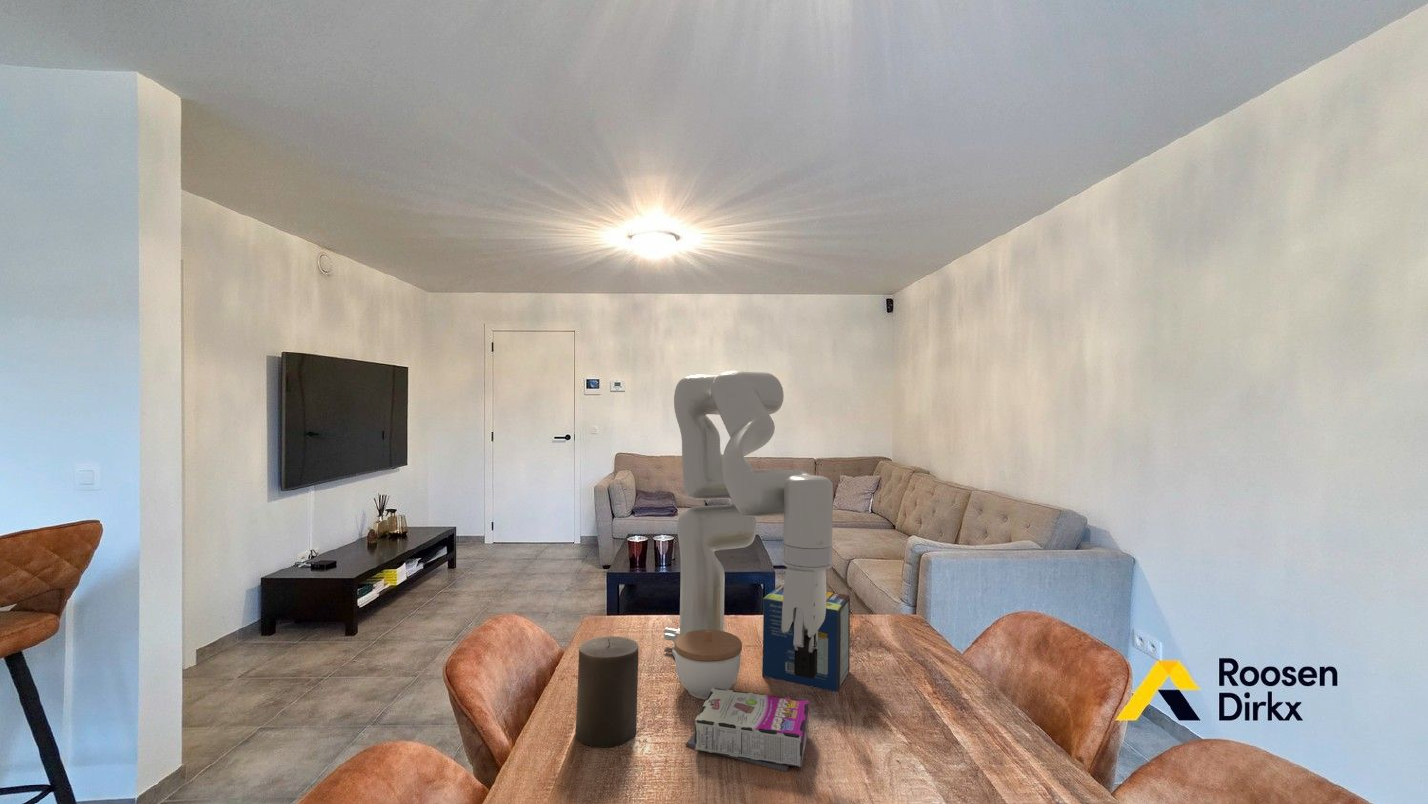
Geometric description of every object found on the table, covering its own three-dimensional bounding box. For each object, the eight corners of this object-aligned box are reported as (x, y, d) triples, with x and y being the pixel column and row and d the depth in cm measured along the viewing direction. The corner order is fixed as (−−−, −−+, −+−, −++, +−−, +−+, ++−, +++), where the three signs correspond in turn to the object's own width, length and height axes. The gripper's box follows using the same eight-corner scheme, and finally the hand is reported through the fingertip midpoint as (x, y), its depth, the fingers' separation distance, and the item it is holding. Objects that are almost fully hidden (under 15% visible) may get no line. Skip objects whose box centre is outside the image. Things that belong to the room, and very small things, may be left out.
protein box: (777, 657, 127) (779, 584, 127) (850, 671, 120) (851, 594, 121) (760, 676, 117) (761, 597, 118) (838, 693, 111) (839, 609, 111)
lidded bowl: (747, 704, 106) (748, 642, 106) (677, 709, 104) (678, 645, 104) (733, 674, 118) (734, 618, 118) (670, 677, 116) (671, 620, 116)
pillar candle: (610, 754, 89) (614, 653, 90) (562, 736, 94) (566, 640, 95) (648, 726, 98) (651, 634, 98) (602, 711, 103) (605, 623, 103)
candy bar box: (809, 730, 96) (711, 714, 101) (810, 699, 96) (712, 685, 101) (801, 770, 86) (692, 751, 90) (802, 736, 86) (693, 718, 90)
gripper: (796, 543, 100) (794, 653, 100) (769, 563, 87) (767, 690, 86) (840, 548, 98) (839, 661, 97) (820, 569, 84) (818, 700, 83)
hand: (805, 674), depth 92 cm, fingers closed
